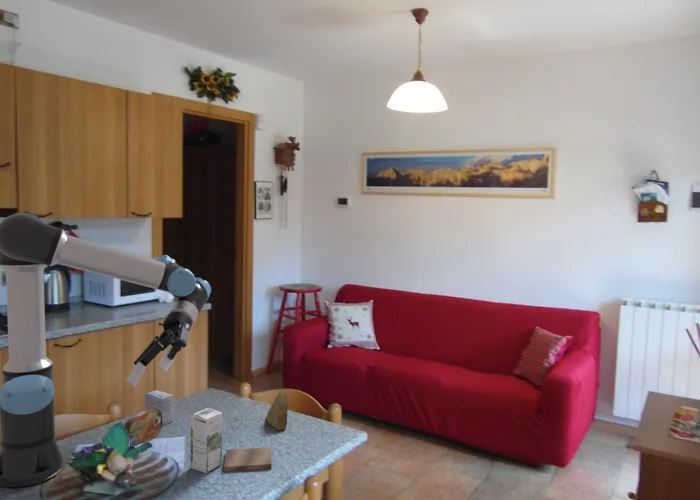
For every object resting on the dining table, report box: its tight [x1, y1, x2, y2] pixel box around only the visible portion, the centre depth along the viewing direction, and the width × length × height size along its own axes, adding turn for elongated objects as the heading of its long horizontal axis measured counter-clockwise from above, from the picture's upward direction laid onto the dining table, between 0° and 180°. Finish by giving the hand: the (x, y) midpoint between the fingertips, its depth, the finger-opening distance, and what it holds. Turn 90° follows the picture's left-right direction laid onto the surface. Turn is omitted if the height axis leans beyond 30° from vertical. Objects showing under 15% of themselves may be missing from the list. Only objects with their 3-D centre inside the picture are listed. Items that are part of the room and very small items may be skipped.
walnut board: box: [223, 446, 272, 472], centre depth 148 cm, size 12×10×1 cm
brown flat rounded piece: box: [123, 408, 163, 447], centre depth 158 cm, size 15×3×8 cm, turn 163°
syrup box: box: [189, 408, 223, 474], centre depth 144 cm, size 6×6×14 cm
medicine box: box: [145, 390, 174, 426], centre depth 173 cm, size 8×4×9 cm, turn 58°
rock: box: [265, 390, 289, 431], centre depth 172 cm, size 11×9×10 cm
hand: (145, 376), depth 144 cm, fingers open, 13 cm apart
